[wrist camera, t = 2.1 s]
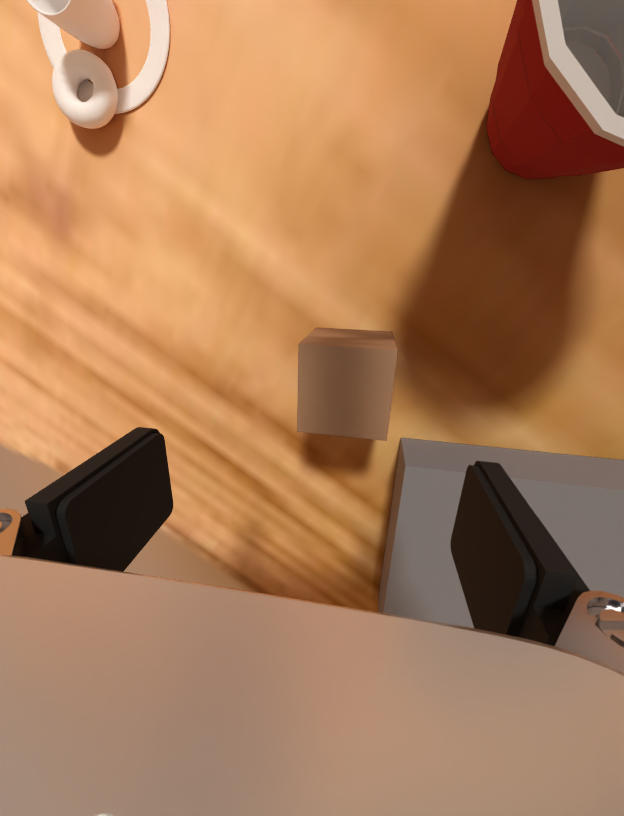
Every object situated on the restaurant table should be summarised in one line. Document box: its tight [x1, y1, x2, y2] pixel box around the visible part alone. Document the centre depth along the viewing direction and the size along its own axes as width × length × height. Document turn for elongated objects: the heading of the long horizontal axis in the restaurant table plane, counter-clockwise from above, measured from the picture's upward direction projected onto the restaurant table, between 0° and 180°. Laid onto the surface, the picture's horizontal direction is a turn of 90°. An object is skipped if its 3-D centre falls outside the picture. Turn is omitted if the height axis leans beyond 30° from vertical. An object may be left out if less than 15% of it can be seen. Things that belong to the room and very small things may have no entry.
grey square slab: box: [378, 438, 624, 628], centre depth 25 cm, size 16×16×4 cm
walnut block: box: [297, 328, 398, 441], centre depth 21 cm, size 5×5×6 cm
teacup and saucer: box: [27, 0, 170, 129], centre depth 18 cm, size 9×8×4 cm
